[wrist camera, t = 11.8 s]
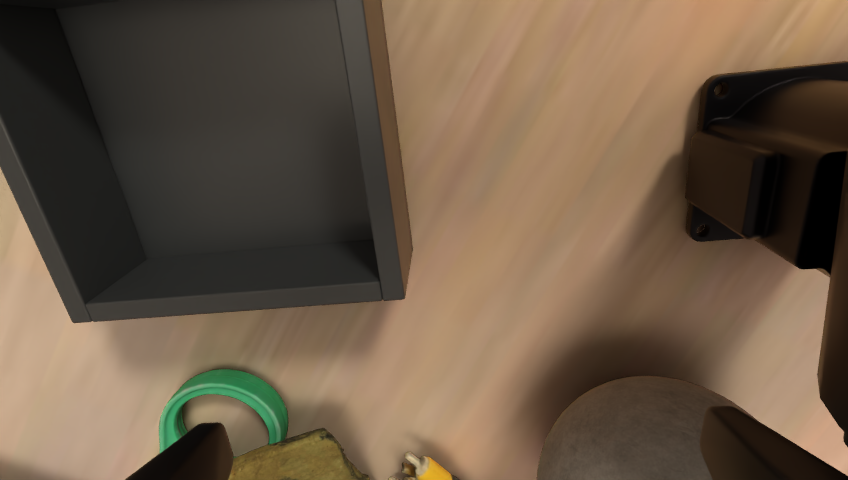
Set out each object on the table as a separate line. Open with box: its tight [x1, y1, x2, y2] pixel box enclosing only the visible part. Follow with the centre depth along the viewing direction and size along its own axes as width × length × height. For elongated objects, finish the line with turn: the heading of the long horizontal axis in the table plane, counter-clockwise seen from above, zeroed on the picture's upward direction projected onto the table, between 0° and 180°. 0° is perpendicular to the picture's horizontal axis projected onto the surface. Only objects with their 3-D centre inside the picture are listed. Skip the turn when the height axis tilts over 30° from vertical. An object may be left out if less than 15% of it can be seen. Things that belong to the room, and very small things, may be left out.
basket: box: [0, 0, 413, 323], centre depth 17 cm, size 13×12×4 cm
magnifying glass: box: [159, 369, 288, 458], centre depth 25 cm, size 15×6×2 cm, turn 143°
